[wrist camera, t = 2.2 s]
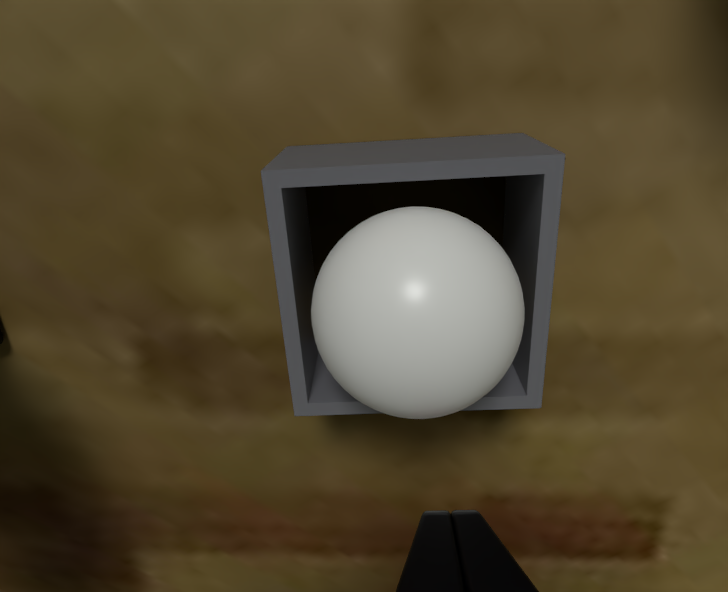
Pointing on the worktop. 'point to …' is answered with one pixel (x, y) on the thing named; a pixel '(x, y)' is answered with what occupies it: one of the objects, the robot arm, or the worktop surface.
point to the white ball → (417, 312)
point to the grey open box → (416, 163)
